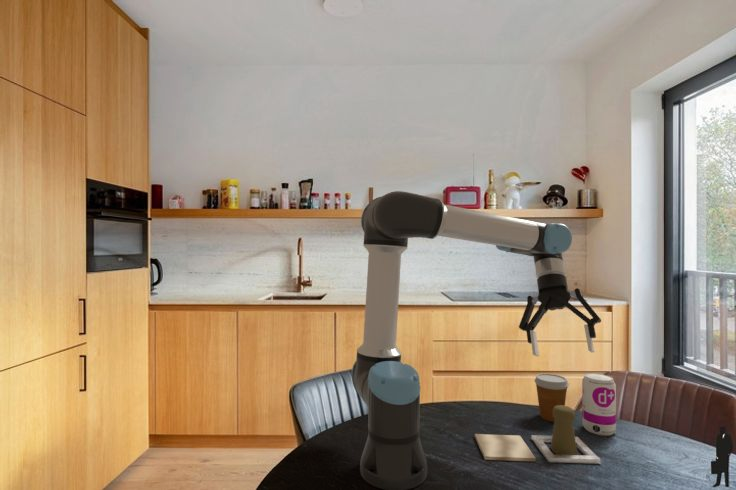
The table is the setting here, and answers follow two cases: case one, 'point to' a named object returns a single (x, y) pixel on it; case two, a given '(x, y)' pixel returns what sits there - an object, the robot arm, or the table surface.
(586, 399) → the supplement can
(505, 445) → the birch board
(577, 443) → the shaker dock
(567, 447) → the cork
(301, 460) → the table surface
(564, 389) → the disposable coffee cup
